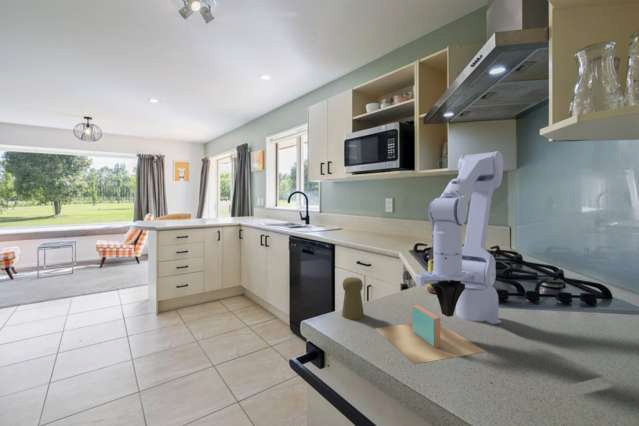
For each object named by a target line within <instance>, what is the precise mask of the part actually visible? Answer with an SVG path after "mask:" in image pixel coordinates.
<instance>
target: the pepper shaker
mask: <svg viewBox="0 0 639 426" xmlns="http://www.w3.org/2000/svg"><path fill="white" fill-rule="evenodd" d="M363 286H364V284H363V280H362V279H360V278H359V277H353V276H352V277H350V276H349V277H345V278H344V279H343V280H342V289H343V291H344V294H343V295H344V296H343V302H342V303H343V304H342V311H341V316H342V318H344V319H347V320H349V321H350V320H352V321H353V320H354V321H355V320H356V321H357V320H361V319H363V318H364V317H365V314H364V306H363V299H362V289H363Z"/></svg>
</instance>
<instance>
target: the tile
mask: <svg viewBox="0 0 639 426" xmlns="http://www.w3.org/2000/svg"><path fill="white" fill-rule="evenodd" d="M412 323H413V332H414V333H415V334H417V335H418V336H420V337H421V338H422V339H424V340H425V341H426V342H428V343H429V344H430V345H432V346H433V347H434V348H438V347H440V324H441V317H439V316H438V315H436V314H434V313H432V312H431V311H430V310H428V309H426V308H423V307H422V306H420V305H419V304H414V305H413V304H412Z"/></svg>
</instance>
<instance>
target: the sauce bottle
mask: <svg viewBox="0 0 639 426" xmlns="http://www.w3.org/2000/svg"><path fill="white" fill-rule="evenodd" d="M431 236H432V238H433V235H431ZM431 271H433V246H432V247H431V248H430V250H429V252H428V261H427V272H431ZM426 286H427V291H428V292H429V293H431V294H435V295H436V293H435V291H434V289H433V287H432V286H431V284H426Z"/></svg>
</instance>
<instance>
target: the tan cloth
mask: <svg viewBox="0 0 639 426" xmlns="http://www.w3.org/2000/svg"><path fill="white" fill-rule="evenodd" d="M375 330H376V331H377V332H378V333H379V334H380V335H381V336H383V338H384V339H386V340H387V341H388V342H389V343H390V344H391V345H392V346H393V347H394V348H396V349H397V351H398V352H400V353H401V355H403V356H404V357H405V358H406V359H407V360H408V361H409V362H410V363H412V364H413V365H418V364H419V365H420V364H424V363H429V362H435V361H441V360H446V359H452V358H458V357H464V356H470V355H476V354H481V353H486V352H487V351H486V350H485V349H483V348H481V347H479V346H478V345H476V344H475V343H473V342H471V341H470V340H468V339H466V338H464V337H463V336H461V335H459V334H458V333H456V332H454V331H453V330H451V329H449V328H448V327H446V326H444V325H443V324H442V323H440V347H438V348H434V347H433V346H432V345H430V344H429V343H428V342H426V341H425V340H424V339H422V338H421V337H420V336H418V335H417V334H415V333H414V332H413V322H412V323H406V324H398V325H389V326H382V327H376V328H375Z"/></svg>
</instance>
